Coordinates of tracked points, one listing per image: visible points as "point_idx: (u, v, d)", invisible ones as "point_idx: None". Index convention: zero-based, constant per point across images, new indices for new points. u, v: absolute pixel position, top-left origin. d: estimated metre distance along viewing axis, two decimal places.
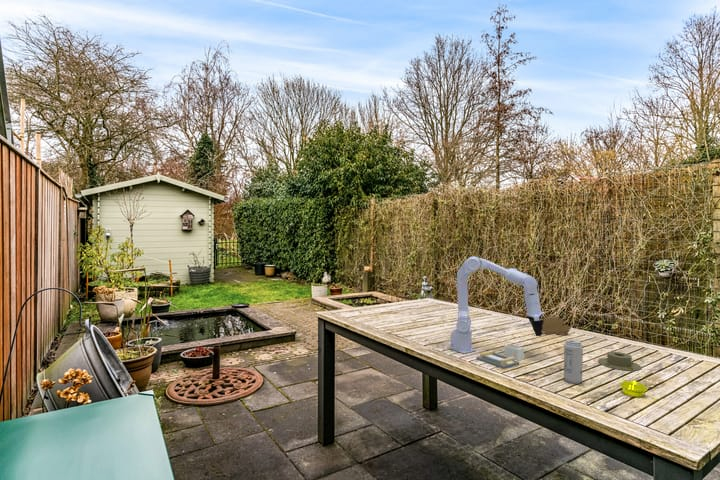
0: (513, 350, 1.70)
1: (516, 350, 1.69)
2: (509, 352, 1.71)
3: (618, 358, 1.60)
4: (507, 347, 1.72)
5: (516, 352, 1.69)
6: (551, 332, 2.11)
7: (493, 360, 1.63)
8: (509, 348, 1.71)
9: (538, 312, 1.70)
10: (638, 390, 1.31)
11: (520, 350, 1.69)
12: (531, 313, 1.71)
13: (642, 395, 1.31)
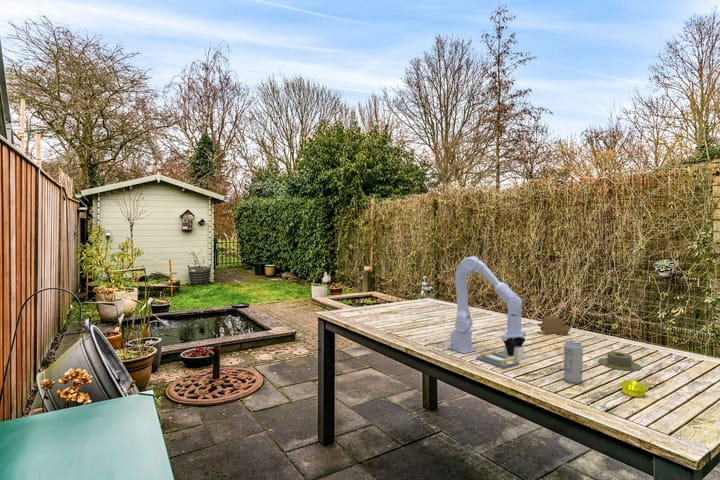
0: None
1: (516, 350, 1.69)
2: None
3: (618, 358, 1.60)
4: None
5: (516, 352, 1.69)
6: (551, 332, 2.11)
7: (493, 360, 1.63)
8: None
9: (513, 333, 1.69)
10: (638, 390, 1.31)
11: (520, 350, 1.69)
12: (507, 332, 1.72)
13: (642, 395, 1.31)
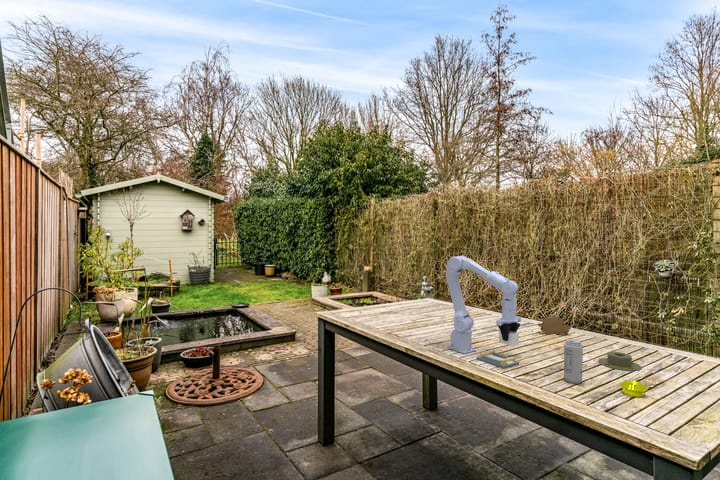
0: None
1: (511, 335, 1.67)
2: None
3: (618, 358, 1.60)
4: None
5: (511, 337, 1.67)
6: (551, 332, 2.11)
7: (493, 360, 1.63)
8: None
9: (508, 318, 1.67)
10: (638, 390, 1.31)
11: (515, 335, 1.67)
12: (502, 318, 1.70)
13: (642, 395, 1.31)
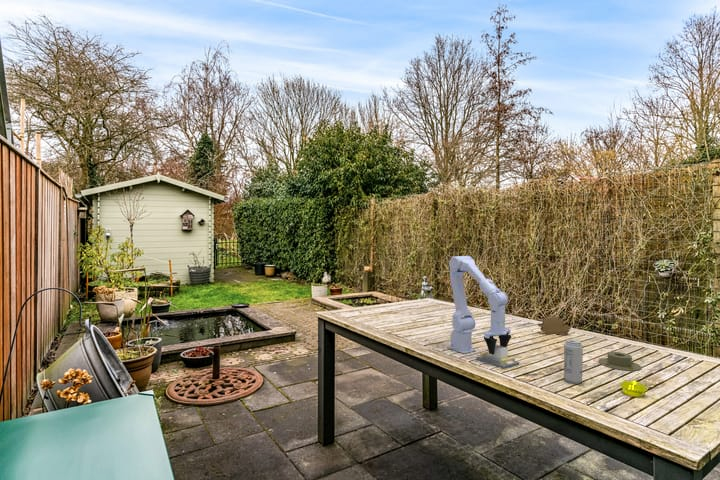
0: (497, 350, 1.64)
1: (500, 350, 1.63)
2: None
3: (618, 358, 1.60)
4: None
5: (500, 352, 1.63)
6: (551, 332, 2.11)
7: (493, 360, 1.63)
8: None
9: (496, 331, 1.63)
10: (638, 390, 1.31)
11: (504, 350, 1.63)
12: (491, 330, 1.66)
13: (642, 395, 1.31)
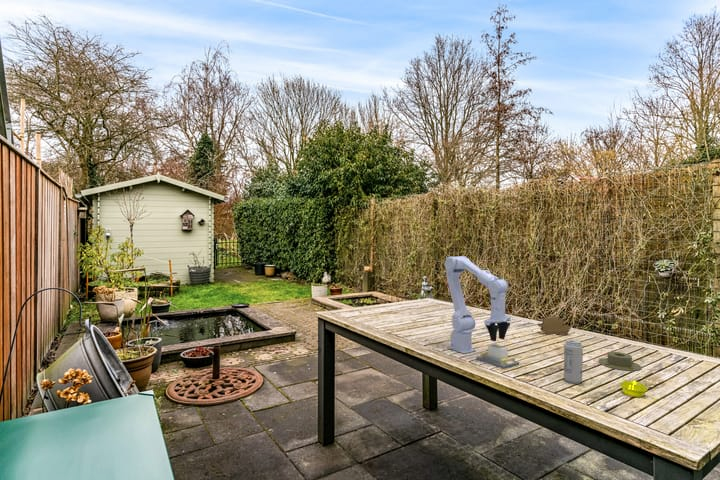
0: (497, 350, 1.64)
1: (500, 350, 1.63)
2: (493, 352, 1.65)
3: (618, 358, 1.60)
4: (491, 347, 1.66)
5: (500, 352, 1.63)
6: (551, 332, 2.11)
7: (493, 360, 1.63)
8: (493, 348, 1.65)
9: (497, 318, 1.63)
10: (638, 390, 1.31)
11: (504, 350, 1.63)
12: (491, 317, 1.66)
13: (642, 395, 1.31)
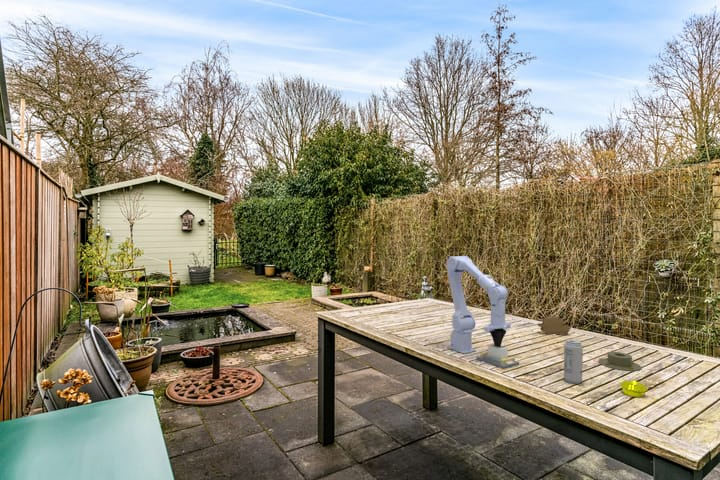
0: (497, 350, 1.64)
1: (500, 350, 1.63)
2: (493, 353, 1.65)
3: (618, 358, 1.60)
4: (491, 347, 1.66)
5: (500, 352, 1.63)
6: (551, 332, 2.11)
7: (493, 360, 1.63)
8: (493, 348, 1.65)
9: (497, 325, 1.63)
10: (638, 390, 1.31)
11: (504, 350, 1.63)
12: (491, 324, 1.66)
13: (642, 395, 1.31)
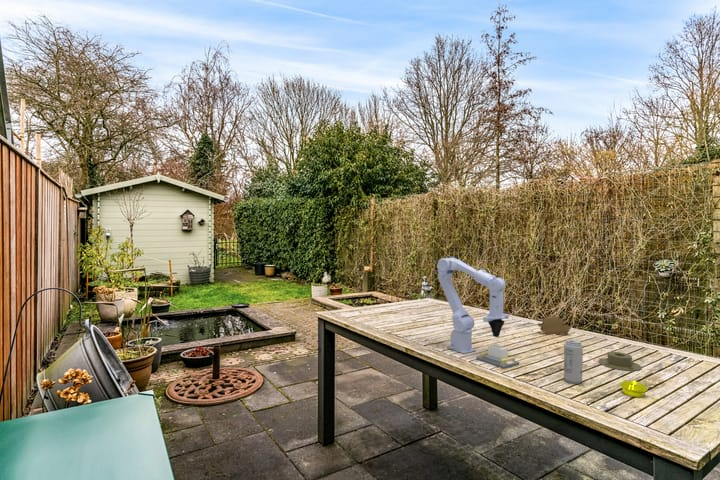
0: (497, 350, 1.64)
1: (500, 350, 1.63)
2: (493, 352, 1.65)
3: (618, 358, 1.60)
4: (491, 347, 1.66)
5: (500, 352, 1.63)
6: (551, 332, 2.11)
7: (493, 360, 1.63)
8: (493, 348, 1.65)
9: (495, 315, 1.69)
10: (638, 390, 1.31)
11: (504, 350, 1.63)
12: (489, 314, 1.71)
13: (642, 395, 1.31)
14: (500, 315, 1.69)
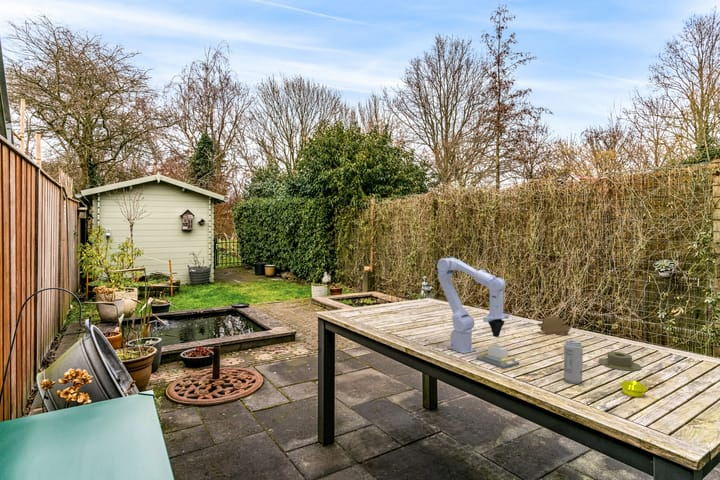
0: (497, 350, 1.64)
1: (500, 350, 1.63)
2: (493, 352, 1.65)
3: (618, 358, 1.60)
4: (491, 347, 1.66)
5: (500, 352, 1.63)
6: (551, 332, 2.11)
7: (493, 360, 1.63)
8: (493, 348, 1.65)
9: (495, 315, 1.69)
10: (638, 390, 1.31)
11: (504, 350, 1.63)
12: (489, 314, 1.71)
13: (642, 395, 1.31)
14: (500, 315, 1.69)
